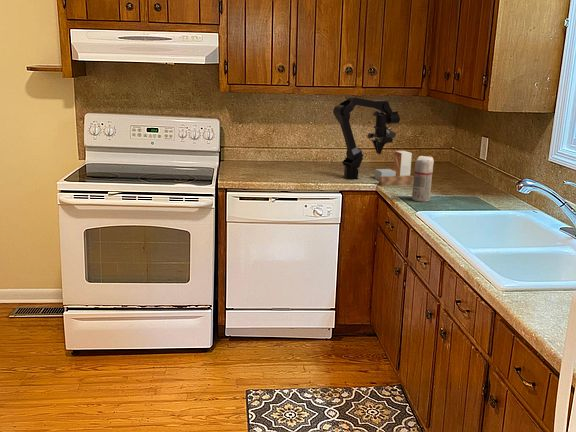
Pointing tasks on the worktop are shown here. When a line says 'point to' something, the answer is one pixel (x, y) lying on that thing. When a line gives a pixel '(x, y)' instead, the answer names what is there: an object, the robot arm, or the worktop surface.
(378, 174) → the block
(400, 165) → the small box
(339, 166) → the worktop surface
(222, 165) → the worktop surface
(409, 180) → the board
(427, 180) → the spray can
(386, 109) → the robot arm
